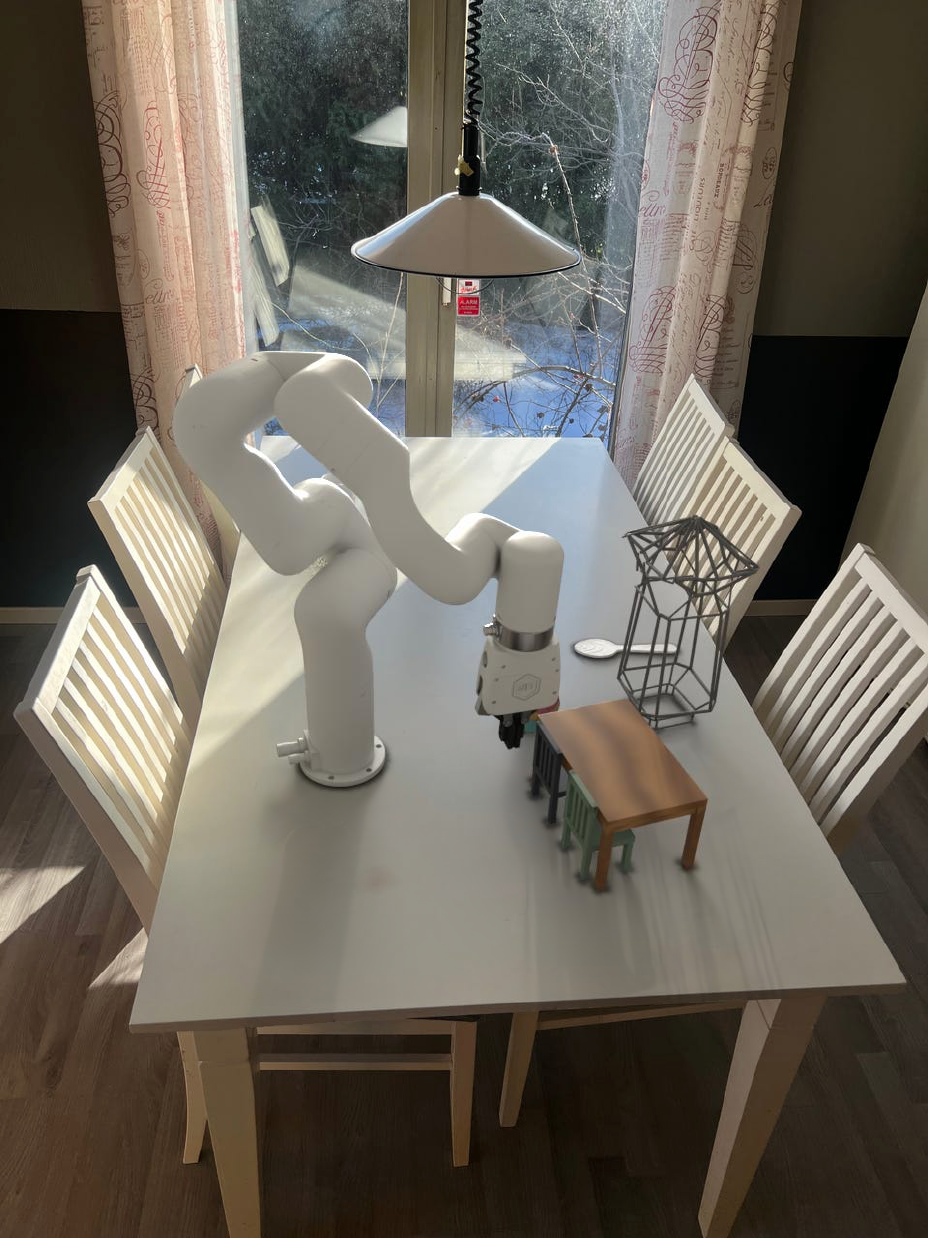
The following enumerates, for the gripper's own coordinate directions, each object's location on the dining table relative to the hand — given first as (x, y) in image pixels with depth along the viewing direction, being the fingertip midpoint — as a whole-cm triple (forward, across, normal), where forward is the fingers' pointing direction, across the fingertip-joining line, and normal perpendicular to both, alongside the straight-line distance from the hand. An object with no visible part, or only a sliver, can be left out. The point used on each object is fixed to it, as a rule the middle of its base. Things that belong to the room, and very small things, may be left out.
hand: (509, 742), depth 133 cm
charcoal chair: (+11, +8, -2) cm, 14 cm away
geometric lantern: (+11, +32, +12) cm, 36 cm away
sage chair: (+11, +8, -13) cm, 19 cm away
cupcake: (+12, +11, +16) cm, 23 cm away
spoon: (+11, +35, +30) cm, 48 cm away
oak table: (+11, +13, -7) cm, 19 cm away
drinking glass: (+14, -5, +81) cm, 82 cm away
